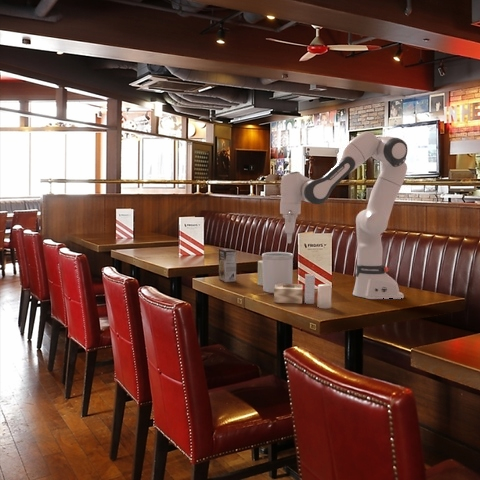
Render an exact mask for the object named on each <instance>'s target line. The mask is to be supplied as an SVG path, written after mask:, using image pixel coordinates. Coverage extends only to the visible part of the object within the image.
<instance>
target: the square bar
mask: <svg viewBox="0 0 480 480" xmlns="http://www.w3.org/2000/svg"><path fill="white" fill-rule="evenodd" d="M304 276H305V277H304V304H305V303H306V305H307V304H308V305H309V304H310V305H312V304H315V289H316V287H315V285H316V274H315V273H305V274H304Z"/></svg>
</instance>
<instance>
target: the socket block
mask: <svg viewBox="0 0 480 480" xmlns="http://www.w3.org/2000/svg"><path fill="white" fill-rule="evenodd" d="M303 287H304V286H303V284H302V283H292V284H279V283H276V284H275V287H274V293H273V303H280V304H281V303H284V304H303V289H304V288H303Z"/></svg>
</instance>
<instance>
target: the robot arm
mask: <svg viewBox="0 0 480 480" xmlns="http://www.w3.org/2000/svg"><path fill="white" fill-rule="evenodd" d="M407 154H408V145H407V142H405V141H404V140H403V139H402V138H400V137H393V136H376V135H375V134H374V133H373V132H371V131H364V132H361V133H360V134H358V135H356V136H355V137H353V138H352V139H351V140H349V142H347V143H346V144H344V146H342V147H341V148H340V150H339V152H337V155H336V164H335V165H334V167H332V168H331V169H330V170H329V171H327V173H326V174H325V175H323V176H322V177H321V178H318V179H312V178H309V177H307V176H305V175H303V174H302V173H301V172H299V171H290V172H286V173H284V174H283V175H282V176H281V180H280V197H281V198H280V201H279V214H281V215H282V218H283V219H284V233H285V234H286V243H287V244H292V241H293V234H294V231H295V227H296V222H297V221H296V220H297V218H298V216H299V215H301V212H302V211H301V209H302V208H301V207H302V206H301V205H302V201H303V202H307V203H310V204H313V205H321V204H323V203H325V202H326V201H328V199H329V197H330V195H331V193H332V191H333V190H334V189H335V188H336V186H338V185H339V184H340V183H341V182H342V181H343V180H344V179H345V178H346V177H347V176H348V175H349V174H350V173H352V172H354V171H355V170H356V169H358V168H359V167H361V166H362V165H363V164H364V163H366V161H367V160H368V159H372V160H375V161H379V162H381V171H380V172H379V174H378V177H377V178H376V181H375V183H374V185H373V187H372V189H371V192H370V195H369V199H368V203H367V205H366V208H365V209H362V210H361V211H359V213H357V215H356V217H355V224H356V225H355V228H356V229H355V230H356V231H355V232H356V241H357V243H356V244H357V259H356V263H355V265H356V266H355V276H356V277H355V284H354V287H353V292H352V295H353V296H354V297H355V296H356V297H359V298H365V299H367V300H390V299H389V298H393V299H392V300H401V298H402V299H404V298H405V296H404V293H403V292H400V289H399V284H398V282H397V280H395V279H394V278H393V277H391V276H390V275H389V274H388V272H389V270H390V269H389V267H388V266H385V265H384V264H383V252H384V250H383V249H384V247H383V242H382V235H381V234H383V233H384V232H385V231H387V228H388V226H389V225H388V224H389V220H390V217H391V213H392V210H393V207H394V204H395V201H396V200H397V197H398V194H399V192H400V190H401V188H402V186H403V183H404V181H405V178H406V174H407V172H408V171H407V170H408V165H407V163H406V160H407V156H408V155H407ZM383 298H384V299H383Z"/></svg>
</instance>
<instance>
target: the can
mask: <svg viewBox="0 0 480 480" xmlns="http://www.w3.org/2000/svg"><path fill="white" fill-rule="evenodd" d="M256 285H258V286H262V287H263V264H262V259H261V260H258V261H257V284H256Z"/></svg>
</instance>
